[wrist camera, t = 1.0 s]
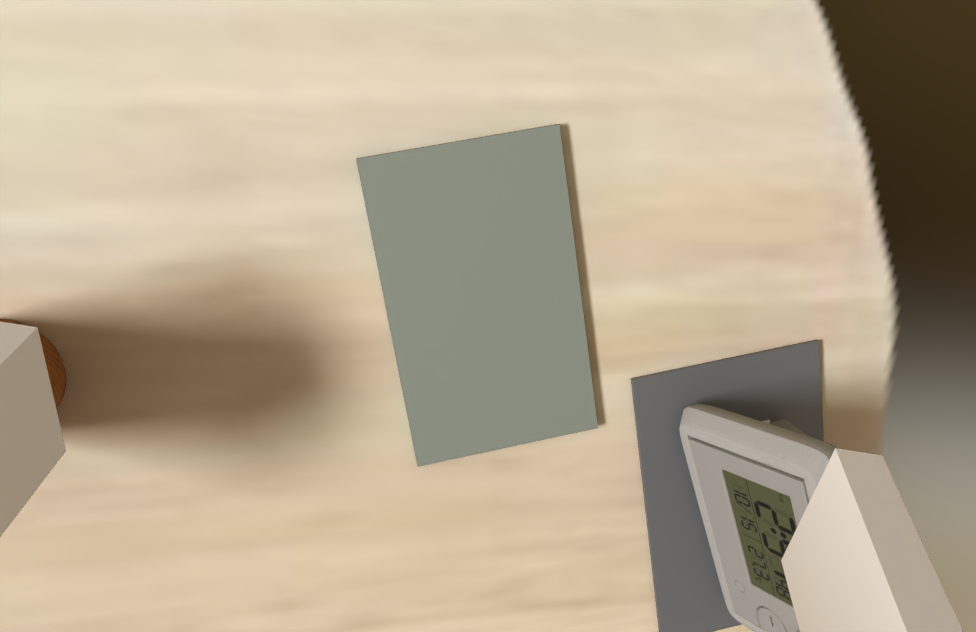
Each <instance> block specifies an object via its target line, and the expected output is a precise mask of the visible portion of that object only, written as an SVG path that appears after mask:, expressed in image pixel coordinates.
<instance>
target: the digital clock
mask: <svg viewBox="0 0 976 632" xmlns="http://www.w3.org/2000/svg"><path fill="white" fill-rule="evenodd" d="M679 431H680V437H681V441H682V445H683V449H684V453H685V456H686V460H687V464H688V468H689V471H690V475H691V479H692V482H693V486H694V490H695V493H696V497H697V501H698V505H699V508H700V512H701V516H702V519H703V523H704V527H705V530H706V534H707V538H708V541H709V545H710V549H711V552H712V556H713V560H714V563H715V567H716V571H717V574H718V578H719V582H720V585H721V589H722V592H723V596H724V599H725V603H726V606H727V608H728V610H729V612H730V614H731V615H732V616H733V617H734V618H735V619H736V620H737V621H738V622H740V623H741V624H743V625H744V626H746V627H747V628H749V629H751V630H752V631H754V632H800V630H799V626H798V622H797V619H796V615H795V611H794V607H793V603H792V600H791V596H790V592H789V588H788V585H787V581H786V577H785V573H784V569H783V566H782V562H781V560H782V558H783V556H784V554H785V551H786V549H787V547H788V545H789V543H790V541H791V539H792V537H793V535H794V533H795V531H796V529H797V527H798V525H799V522H800V520H801V518H802V516H803V514H804V512H805V510H806V508H807V506H808V504H809V502H810V500H811V498H812V495H813V493H814V491H815V489H816V487H817V485H818V483H819V481H820V479H821V477H822V475H823V473H824V471H825V469H826V466H827V464H828V462H829V460H830V458H831V456H832V454H833V452H834V450H835V448H837V447H835V446H833V445H832V444H829V443H826V442H823V441H820V440H817V439H815V438H812V437H809V436H807V435H806V434H805V433H803V432H802V431H801V430H799V429H798V428H797V427H795V426H794V425H793V424H791V423H790V422H789V421H787V420H786V419H780V420H777V421H774V422H771V423H765V422H761V421H758V420H755V419H752V418H749V417H746V416H743V415H739V414H736V413H733V412H730V411H727V410H724V409H720V408H717V407H714V406H710V405H704V404H694V405H690V406H688V407H686V408H685V409H684V410H683V414H682V418H681V423H680V427H679ZM837 449H839V448H837Z"/></svg>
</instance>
